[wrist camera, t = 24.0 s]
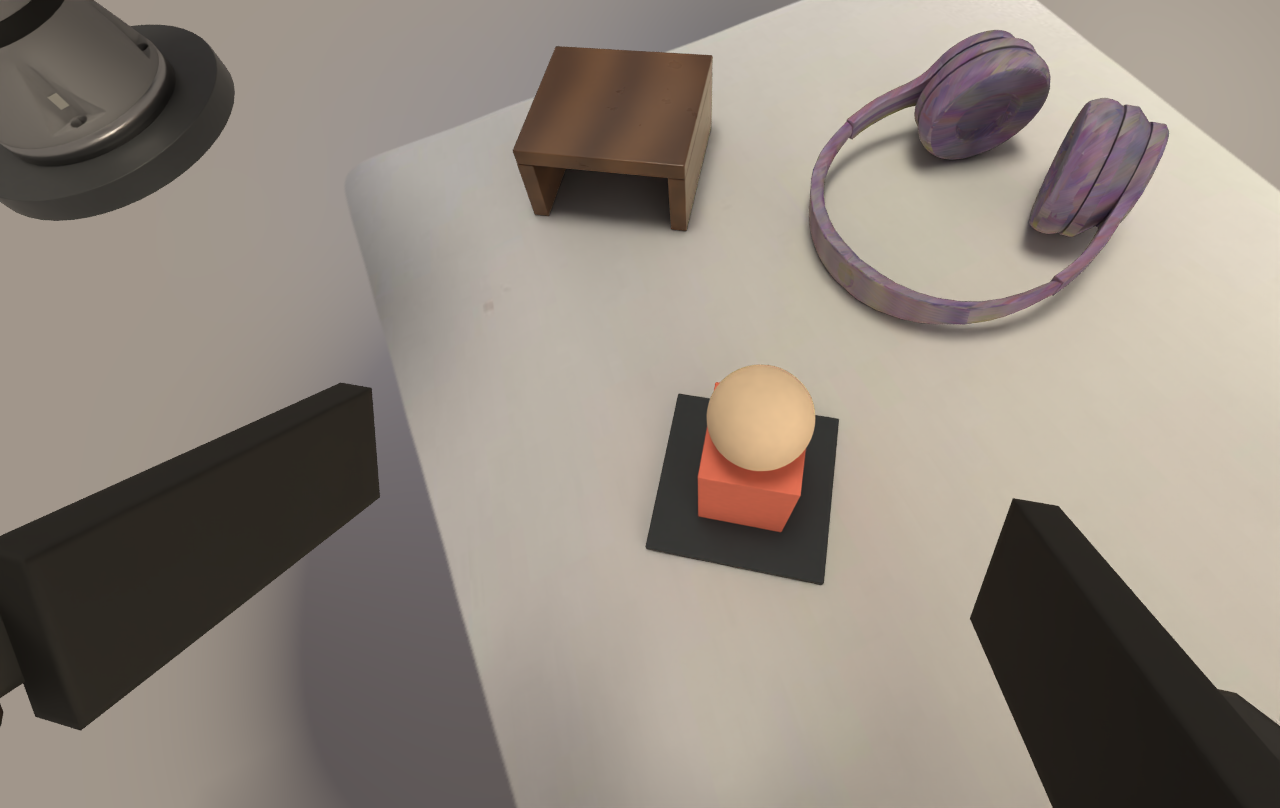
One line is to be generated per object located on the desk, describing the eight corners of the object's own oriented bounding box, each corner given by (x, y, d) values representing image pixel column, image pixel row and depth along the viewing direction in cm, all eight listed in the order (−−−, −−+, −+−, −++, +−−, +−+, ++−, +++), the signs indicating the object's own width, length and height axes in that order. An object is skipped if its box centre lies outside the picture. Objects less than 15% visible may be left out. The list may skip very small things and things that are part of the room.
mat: (646, 549, 35) (645, 547, 35) (678, 396, 39) (678, 393, 38) (822, 584, 33) (824, 583, 33) (837, 421, 37) (839, 418, 37)
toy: (698, 516, 35) (697, 442, 24) (712, 435, 37) (717, 333, 26) (781, 532, 34) (818, 462, 24) (792, 448, 36) (830, 349, 26)
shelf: (534, 214, 47) (512, 150, 41) (571, 115, 51) (555, 45, 46) (686, 231, 45) (684, 166, 39) (711, 126, 49) (712, 54, 43)
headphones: (956, 79, 48) (757, 229, 47) (988, -23, 40) (753, 154, 40) (1167, 216, 40) (935, 396, 40) (1254, 123, 33) (971, 343, 32)
